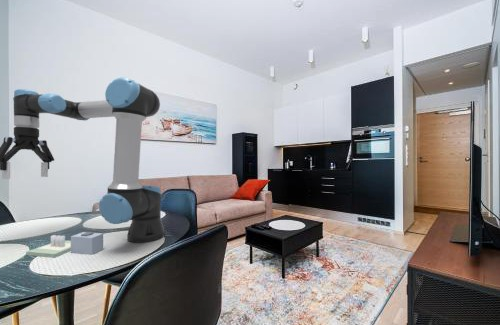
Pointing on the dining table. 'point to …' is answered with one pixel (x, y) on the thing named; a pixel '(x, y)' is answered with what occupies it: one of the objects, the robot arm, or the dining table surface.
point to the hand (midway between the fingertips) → (26, 177)
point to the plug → (86, 243)
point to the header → (52, 247)
